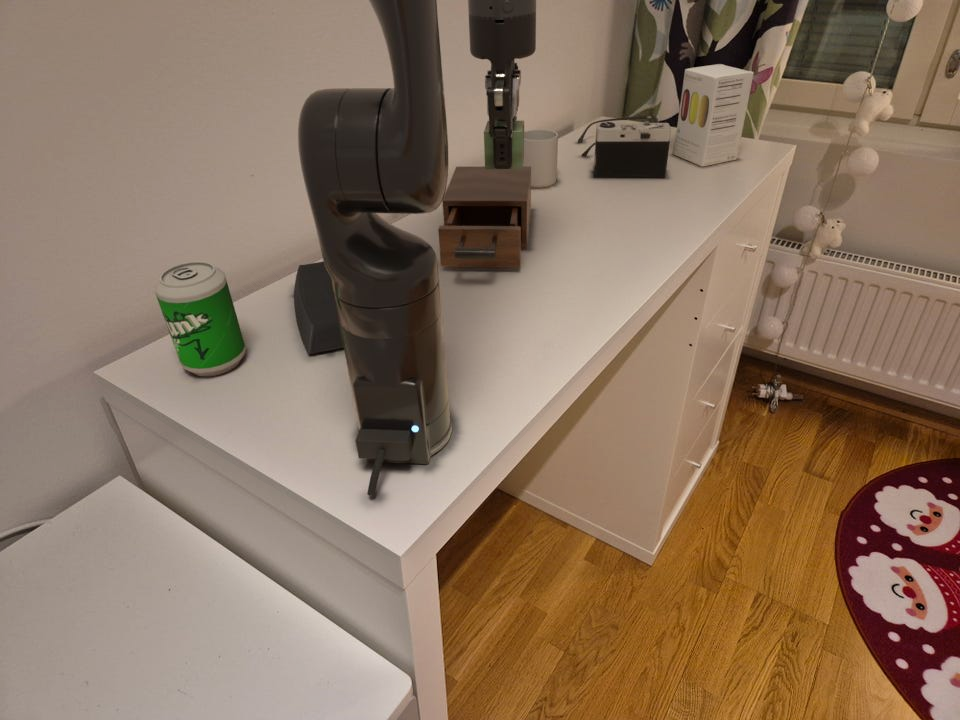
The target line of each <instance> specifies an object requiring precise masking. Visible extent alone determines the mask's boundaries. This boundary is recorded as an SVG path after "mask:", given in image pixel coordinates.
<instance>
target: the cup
mask: <svg viewBox="0 0 960 720" xmlns="http://www.w3.org/2000/svg"><path fill="white" fill-rule="evenodd" d="M558 141H559V134H558V132H556V131H554V130H550V129H530V130H529V129H528V130H526V131H525V130H524V161H523V166H531V189H543V188H544V189H545V188H548V187H551V186H554V185H555V183H556V182H557V180H558V179H557V178H558V152H559V151H558V149H559V148H558V145H559V142H558Z"/></svg>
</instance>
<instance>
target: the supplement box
mask: <svg viewBox="0 0 960 720" xmlns="http://www.w3.org/2000/svg"><path fill="white" fill-rule="evenodd" d="M754 74H755V72H754V71H751V70H745V69H741V68H738V67H735V66H734V67H733V66H729V65H725V64H722V63H717V64H716V63H715V64H711V65H704V66H703V65H702V66H696V67H690V68H685V69H684V75H683V82H682V88H681V96H680V105H679V110H678V111H679V112H678V116H677V117H678V119H677V125H676V130H675V132H676V133H675V139H674V148H673V154H672V155H674V156H676V157H679V158H680V159H683V160H686V161H688V162H690V163H692V164H695V165H697V166H699V167H707V166H708V167H709V166H711V165H712V166H713V165H717V164H723V163H727V162H732V161H736V160H737V159H738V157H739V151H740V145H741V140H742V135H743V129H744V126H745V120H746V115H747V110H748V105H749V99H750V94H751V89H752V84H753V79H754Z"/></svg>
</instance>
